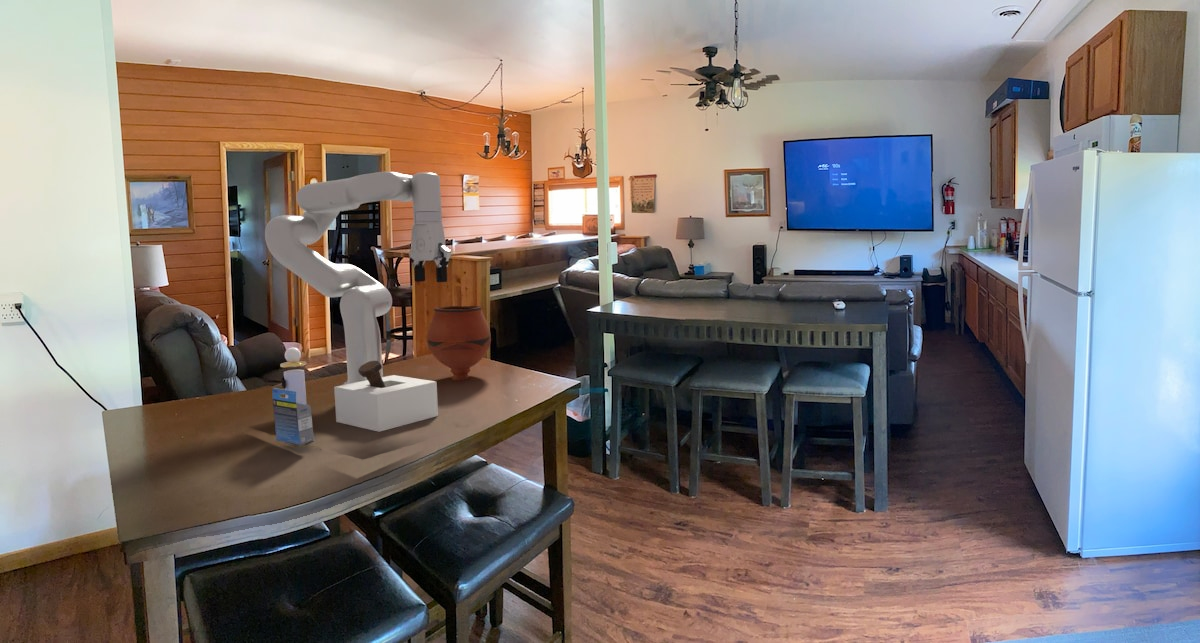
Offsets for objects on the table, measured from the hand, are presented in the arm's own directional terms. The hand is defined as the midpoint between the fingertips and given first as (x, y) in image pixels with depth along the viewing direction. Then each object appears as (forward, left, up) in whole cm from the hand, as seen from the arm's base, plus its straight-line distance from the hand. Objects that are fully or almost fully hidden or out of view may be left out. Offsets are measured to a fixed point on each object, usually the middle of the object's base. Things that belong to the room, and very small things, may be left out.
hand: (430, 281), depth 191 cm
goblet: (-10, +18, -34) cm, 40 cm away
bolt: (+4, -18, -33) cm, 38 cm away
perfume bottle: (-7, -38, -34) cm, 51 cm away
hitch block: (+4, -20, -34) cm, 39 cm away
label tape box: (+3, -44, -34) cm, 56 cm away
